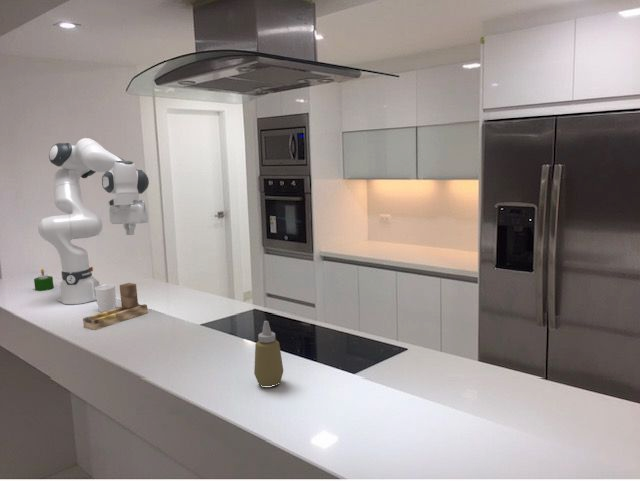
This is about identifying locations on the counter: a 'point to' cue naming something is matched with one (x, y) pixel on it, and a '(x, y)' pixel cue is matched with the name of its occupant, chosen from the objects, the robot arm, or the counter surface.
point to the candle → (43, 282)
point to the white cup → (105, 297)
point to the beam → (113, 316)
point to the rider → (128, 295)
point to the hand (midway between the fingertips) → (130, 234)
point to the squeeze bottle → (268, 358)
